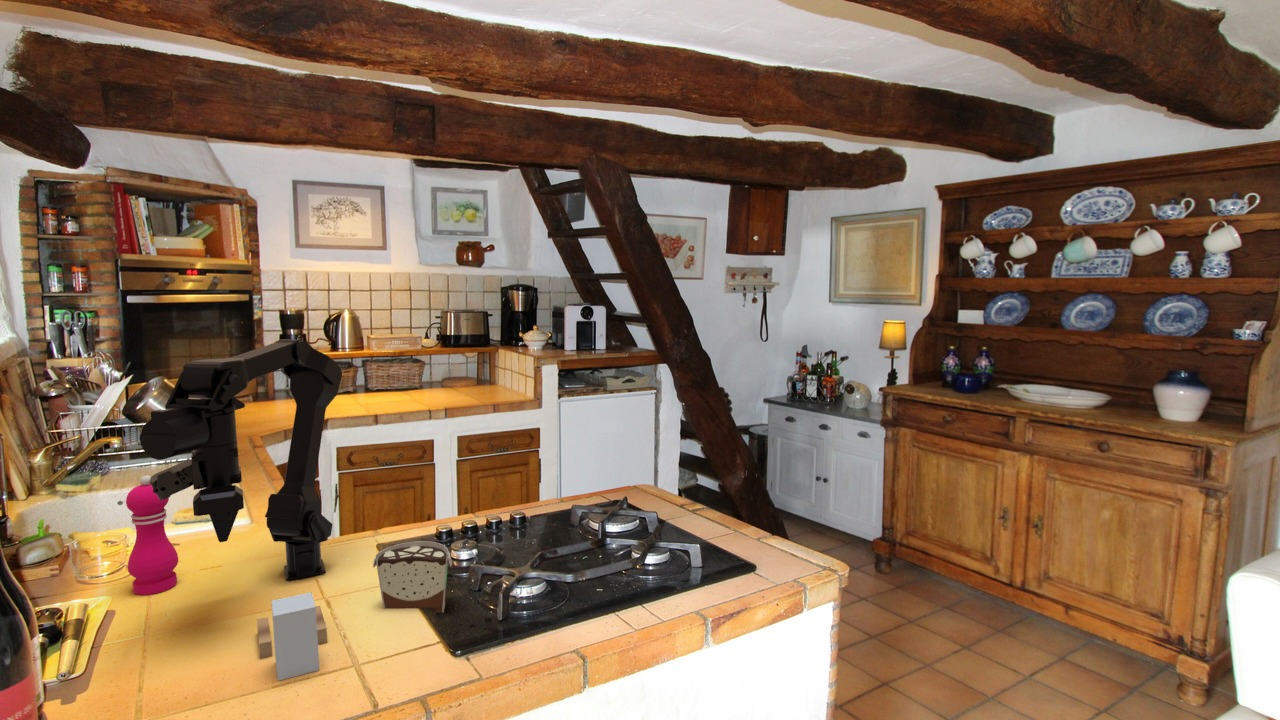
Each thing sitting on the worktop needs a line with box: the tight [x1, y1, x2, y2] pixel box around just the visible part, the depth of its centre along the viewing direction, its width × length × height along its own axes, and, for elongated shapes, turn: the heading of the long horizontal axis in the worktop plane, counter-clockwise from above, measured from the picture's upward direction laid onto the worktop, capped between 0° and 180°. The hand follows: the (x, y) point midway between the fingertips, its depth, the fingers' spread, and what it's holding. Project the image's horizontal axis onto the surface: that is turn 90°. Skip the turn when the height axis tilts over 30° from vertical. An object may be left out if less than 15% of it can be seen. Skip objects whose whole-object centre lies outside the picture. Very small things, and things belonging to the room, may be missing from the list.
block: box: [270, 592, 320, 682], centre depth 95 cm, size 5×5×9 cm
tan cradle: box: [256, 605, 328, 660], centre depth 100 cm, size 15×9×3 cm, turn 30°
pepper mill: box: [125, 474, 179, 596], centre depth 121 cm, size 7×7×20 cm
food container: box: [372, 540, 453, 614], centre depth 115 cm, size 12×6×10 cm, turn 92°
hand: (223, 541), depth 109 cm, fingers closed
